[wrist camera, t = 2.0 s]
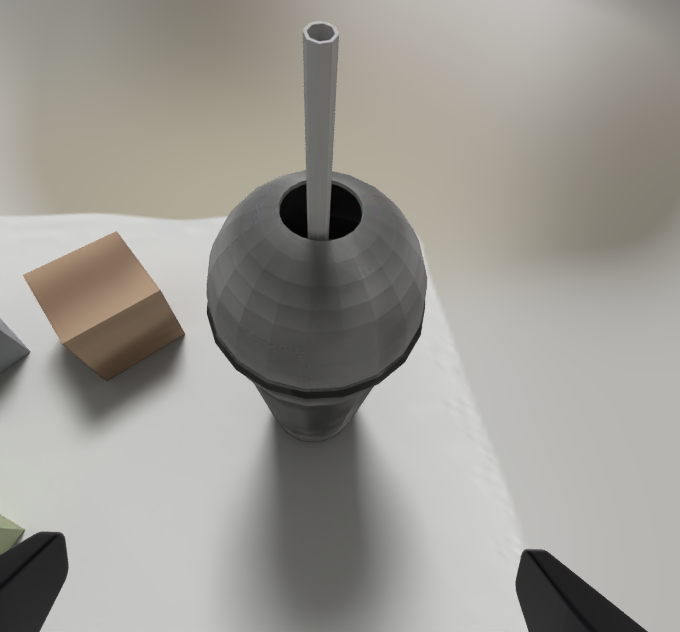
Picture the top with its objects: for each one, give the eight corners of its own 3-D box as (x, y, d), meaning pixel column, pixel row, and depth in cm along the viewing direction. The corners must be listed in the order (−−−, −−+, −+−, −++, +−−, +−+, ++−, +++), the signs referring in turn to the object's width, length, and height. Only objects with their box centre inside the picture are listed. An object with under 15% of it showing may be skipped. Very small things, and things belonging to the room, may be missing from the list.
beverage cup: (378, 352, 25) (526, -71, 8) (373, 474, 22) (628, 179, 4) (262, 340, 25) (162, -114, 8) (238, 461, 22) (-45, 105, 4)
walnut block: (185, 334, 25) (160, 289, 21) (107, 381, 23) (62, 343, 19) (147, 282, 27) (116, 231, 23) (71, 322, 25) (22, 275, 21)
